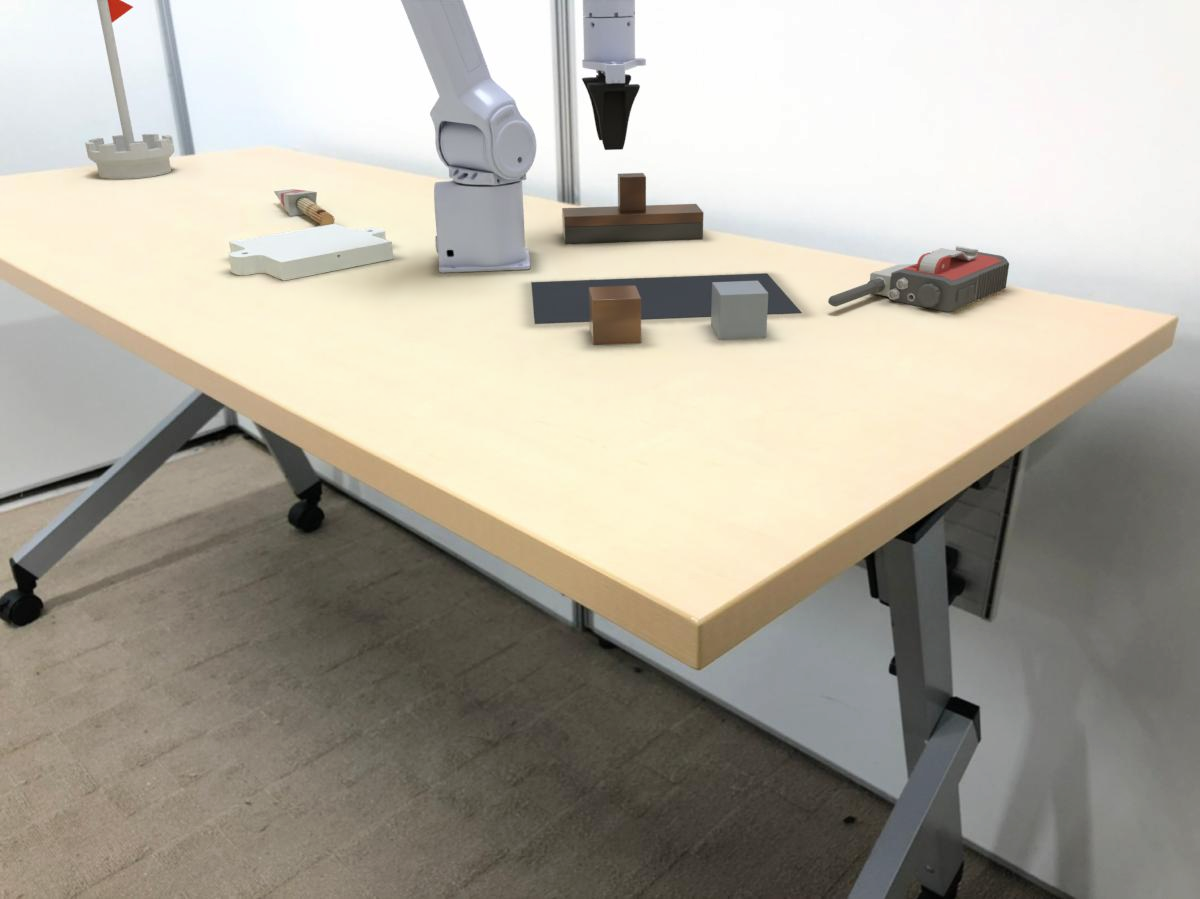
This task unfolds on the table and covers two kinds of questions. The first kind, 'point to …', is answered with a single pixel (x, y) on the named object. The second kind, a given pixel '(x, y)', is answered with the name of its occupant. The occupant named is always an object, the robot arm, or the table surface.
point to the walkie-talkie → (936, 280)
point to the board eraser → (632, 218)
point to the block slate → (739, 310)
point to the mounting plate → (309, 251)
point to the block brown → (615, 315)
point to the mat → (648, 297)
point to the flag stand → (125, 120)
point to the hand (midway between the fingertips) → (610, 144)
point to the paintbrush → (304, 205)
